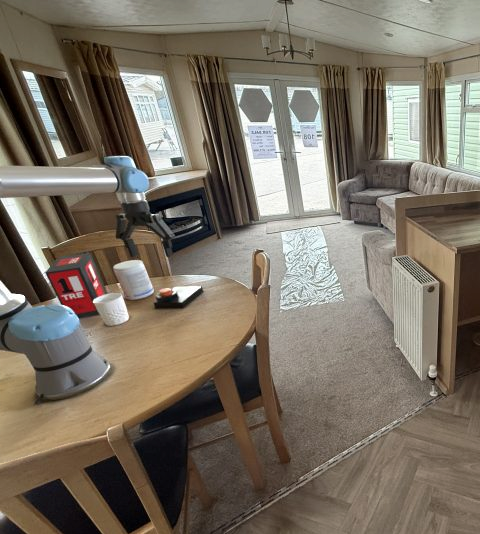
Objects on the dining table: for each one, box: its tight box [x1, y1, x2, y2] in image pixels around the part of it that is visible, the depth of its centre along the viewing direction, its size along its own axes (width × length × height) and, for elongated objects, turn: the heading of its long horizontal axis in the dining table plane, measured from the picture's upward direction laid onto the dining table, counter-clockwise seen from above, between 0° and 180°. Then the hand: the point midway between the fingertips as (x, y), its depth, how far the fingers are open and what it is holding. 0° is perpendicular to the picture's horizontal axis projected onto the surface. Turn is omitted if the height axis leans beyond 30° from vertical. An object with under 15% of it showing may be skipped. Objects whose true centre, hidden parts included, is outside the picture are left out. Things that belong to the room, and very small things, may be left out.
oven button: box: [158, 287, 173, 297], centre depth 138 cm, size 4×4×2 cm
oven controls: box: [152, 285, 204, 309], centre depth 142 cm, size 14×11×4 cm
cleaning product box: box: [44, 252, 109, 319], centre depth 131 cm, size 16×9×20 cm, turn 33°
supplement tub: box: [112, 259, 155, 301], centre depth 142 cm, size 10×10×15 cm
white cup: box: [93, 292, 130, 327], centre depth 125 cm, size 8×8×10 cm
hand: (152, 255), depth 131 cm, fingers open, 12 cm apart
